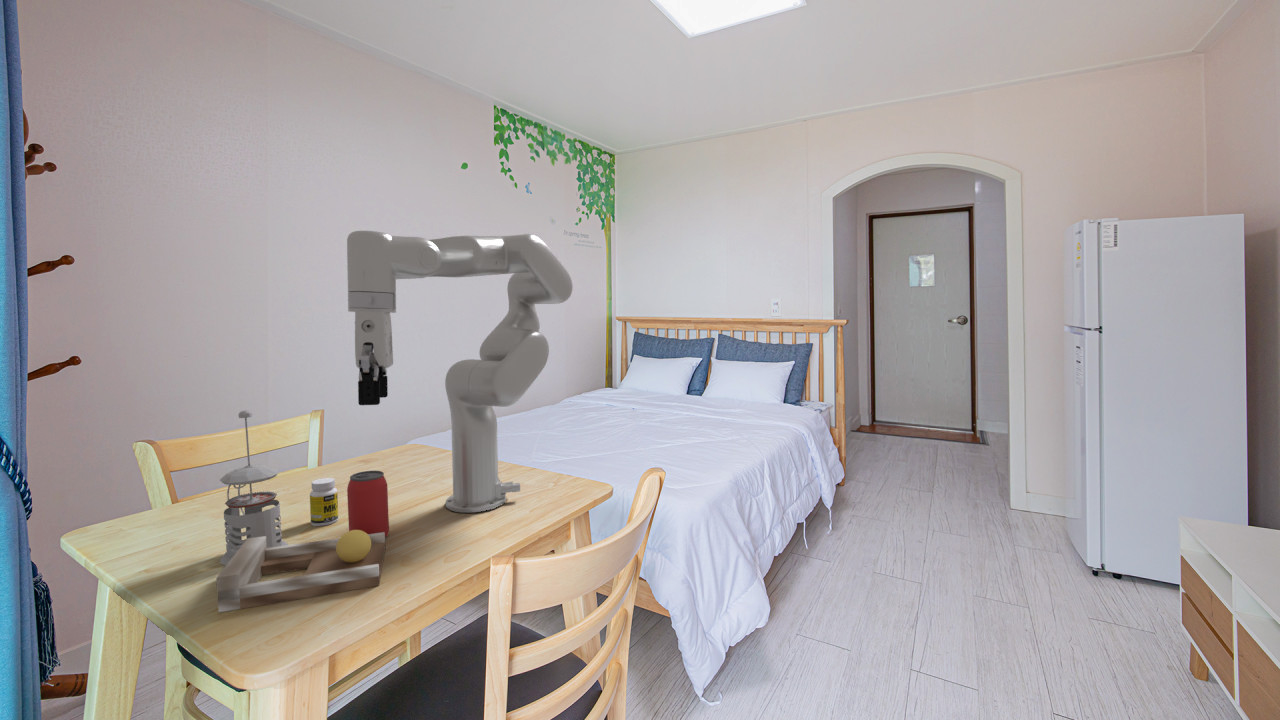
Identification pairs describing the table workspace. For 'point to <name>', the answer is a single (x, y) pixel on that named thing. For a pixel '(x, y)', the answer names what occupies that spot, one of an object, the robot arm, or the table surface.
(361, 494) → the beer can
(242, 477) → the french press
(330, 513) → the supplement bottle
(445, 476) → the table surface
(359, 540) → the ball
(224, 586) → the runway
